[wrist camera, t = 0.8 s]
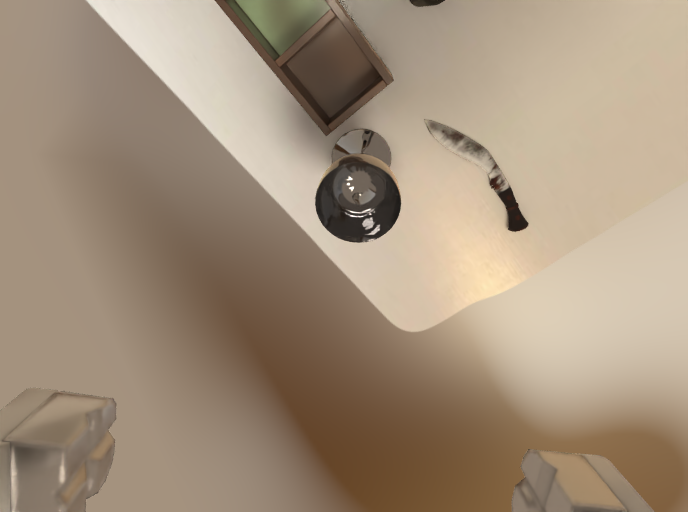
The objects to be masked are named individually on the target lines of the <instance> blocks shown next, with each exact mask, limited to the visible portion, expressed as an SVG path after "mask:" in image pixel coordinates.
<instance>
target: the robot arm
mask: <svg viewBox="0 0 688 512" xmlns="http://www.w3.org/2000/svg"><path fill="white" fill-rule="evenodd" d="M115 420H116V402H115V401H114V399H113V398H107V397H100V396H93V395H85V394H79V393H72V392H65V391H58V390H51V389H41V388H29V389H26V390H25V391H23V392H22V393H21V394H20V395H18V396H17V397H16V398H15V399H14V400H12V401H11V402H10V403H9V404H7V405H6V406H5V407H4V408H3V409H1V410H0V512H86V511H85V510H86V499H88V498H90V497H91V496H93V495H95V494H97V493H98V492H99V490H100V489H101V487H102V485H103V484H104V482H105V481H106V478H107V476H108V473H109V470H110V468H111V465H112V461H113V456H114V449H115V439H114V438H113V436H112V435H111V433H110V432H109V430H108V429H109V428H110V427H111V425H112V424H113V423H114V421H115ZM521 469H522V471H523V473H524V475H525V478H524V479H523V480H521V481H520V482H519V483H518V484H517V485H516V486H515V489H514V493H513V497H512V512H654V511H653V510H652V508H651V507H650V506H649V505H648V504H647V503H646V502H645V500H644V499H643V498H642V497H641V496H640V495H639V494H638V493H637V491H636V490H635V489H634V488H633V487H632V486H631V485H630V484H629V482H628V481H627V480H626V479H625V478H624V477H623V476H622V474H621V473H620V472H619V471H618V470H617V469H616V468H615V467H614V465H613V464H612V463H611V462H610V461H609V460H608V459H607V458H605V457H603V456H599V455H587V454H572V453H562V452H552V451H541V450H531V449H528V451H527V453H526V454H525V455H524V457H523V461H522V464H521Z"/></svg>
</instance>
